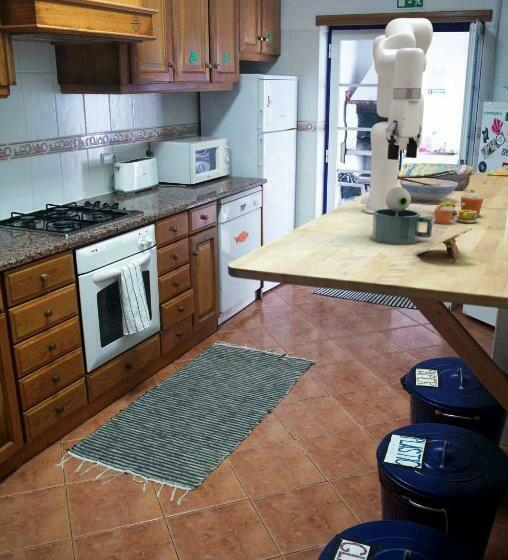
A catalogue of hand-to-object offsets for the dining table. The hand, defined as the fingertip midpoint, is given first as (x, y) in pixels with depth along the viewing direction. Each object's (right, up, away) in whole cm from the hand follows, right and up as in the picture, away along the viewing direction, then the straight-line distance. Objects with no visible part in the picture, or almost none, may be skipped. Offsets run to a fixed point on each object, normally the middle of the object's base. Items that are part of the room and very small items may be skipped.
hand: (402, 158), depth 180 cm
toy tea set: (+28, -13, +39) cm, 50 cm away
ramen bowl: (+28, -2, +76) cm, 81 cm away
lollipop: (-1, -22, +7) cm, 23 cm away
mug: (+1, -23, +6) cm, 24 cm away
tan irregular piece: (+8, -29, -13) cm, 32 cm away
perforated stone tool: (+47, +6, +107) cm, 117 cm away
